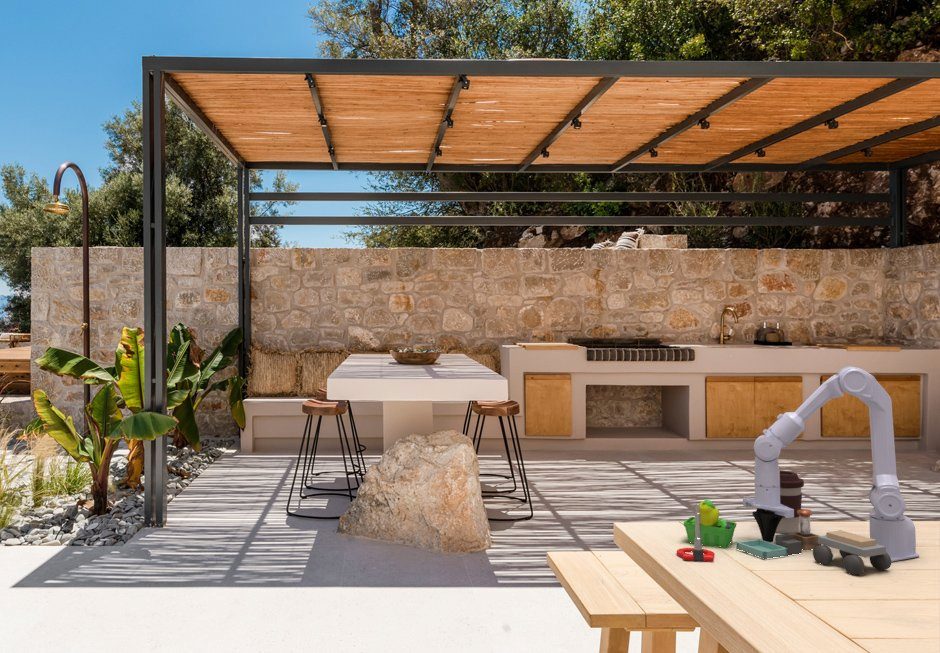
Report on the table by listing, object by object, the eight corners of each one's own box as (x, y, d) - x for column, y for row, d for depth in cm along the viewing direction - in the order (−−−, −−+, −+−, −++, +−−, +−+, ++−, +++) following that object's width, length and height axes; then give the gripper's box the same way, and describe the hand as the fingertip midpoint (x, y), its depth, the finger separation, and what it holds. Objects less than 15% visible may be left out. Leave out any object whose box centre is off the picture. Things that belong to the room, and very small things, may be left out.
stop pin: (804, 544, 183) (804, 508, 183) (815, 548, 180) (815, 511, 180) (794, 546, 182) (794, 509, 182) (805, 549, 179) (805, 512, 179)
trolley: (812, 561, 169) (812, 531, 169) (844, 556, 173) (843, 527, 173) (859, 577, 158) (858, 545, 158) (891, 571, 162) (890, 540, 162)
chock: (788, 550, 179) (788, 533, 179) (801, 554, 176) (801, 537, 176) (775, 552, 178) (775, 535, 178) (788, 556, 174) (788, 539, 174)
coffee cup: (756, 526, 201) (755, 470, 201) (791, 525, 202) (790, 469, 203) (775, 536, 191) (774, 476, 192) (812, 534, 192) (811, 475, 193)
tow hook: (674, 552, 180) (679, 561, 171) (674, 497, 181) (678, 503, 171) (711, 553, 178) (718, 563, 169) (710, 498, 179) (717, 504, 170)
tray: (759, 546, 182) (759, 539, 182) (788, 556, 174) (788, 548, 174) (736, 549, 179) (736, 542, 179) (764, 560, 171) (764, 552, 171)
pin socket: (804, 543, 184) (804, 531, 184) (821, 548, 180) (821, 536, 180) (789, 545, 182) (788, 533, 182) (805, 551, 178) (805, 538, 178)
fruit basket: (737, 542, 186) (737, 496, 186) (729, 551, 178) (728, 503, 178) (691, 536, 192) (690, 492, 192) (681, 544, 184) (680, 498, 184)
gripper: (733, 481, 188) (733, 536, 188) (777, 492, 175) (778, 551, 174) (754, 479, 191) (755, 533, 191) (800, 489, 177) (801, 547, 177)
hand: (768, 541), depth 183 cm, fingers closed
